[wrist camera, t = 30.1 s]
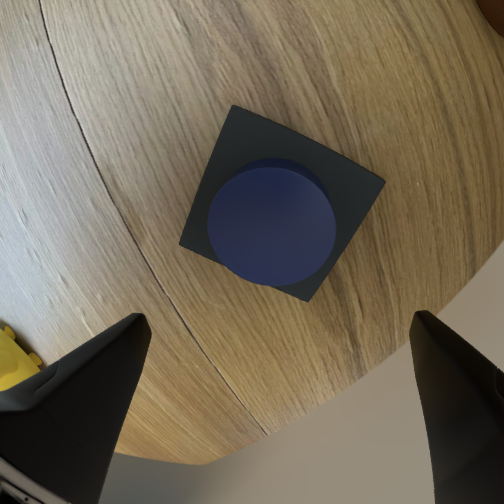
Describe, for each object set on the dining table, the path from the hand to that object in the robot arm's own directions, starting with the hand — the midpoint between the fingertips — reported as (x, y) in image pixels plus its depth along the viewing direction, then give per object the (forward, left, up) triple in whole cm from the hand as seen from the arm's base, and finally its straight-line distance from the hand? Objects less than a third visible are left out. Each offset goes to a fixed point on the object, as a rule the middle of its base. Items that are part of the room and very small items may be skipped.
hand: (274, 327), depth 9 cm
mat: (+1, 0, -11) cm, 11 cm away
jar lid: (+1, 0, -8) cm, 8 cm away
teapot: (+28, +38, -11) cm, 48 cm away
